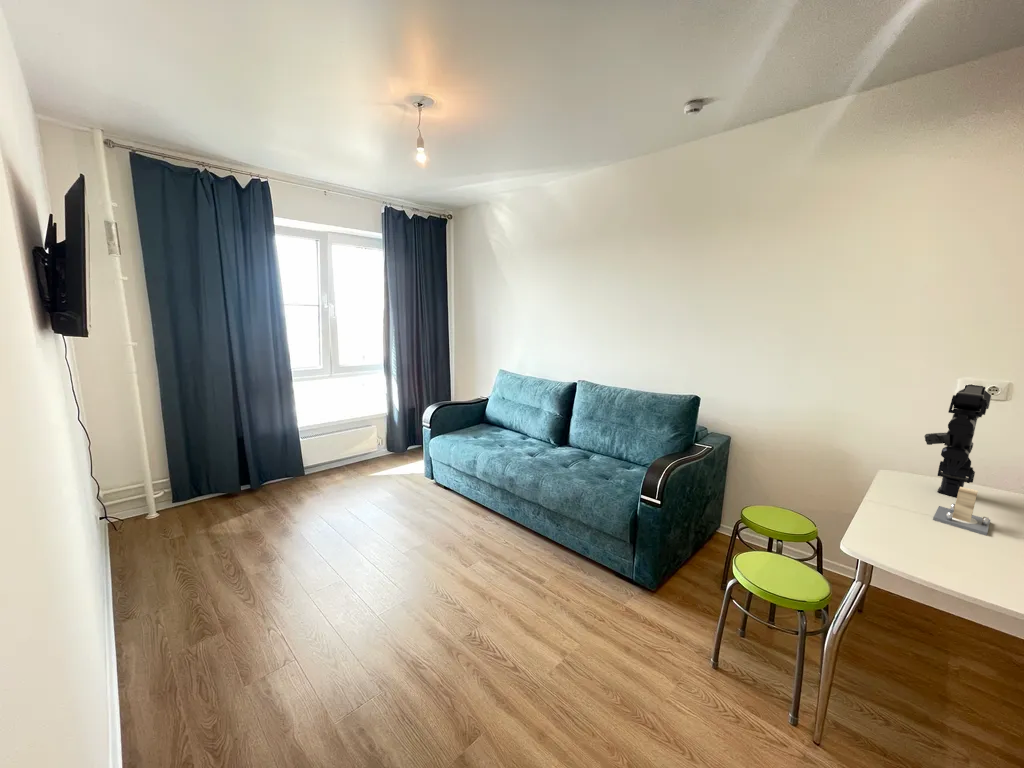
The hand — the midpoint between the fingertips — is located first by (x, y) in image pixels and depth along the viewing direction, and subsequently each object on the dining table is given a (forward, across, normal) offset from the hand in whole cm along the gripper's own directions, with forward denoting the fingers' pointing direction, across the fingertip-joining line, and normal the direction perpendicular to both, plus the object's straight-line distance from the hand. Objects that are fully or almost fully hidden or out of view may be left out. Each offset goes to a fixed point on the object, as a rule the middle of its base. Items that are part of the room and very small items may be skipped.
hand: (952, 471), depth 144 cm
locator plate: (+13, +11, +5) cm, 18 cm away
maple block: (+12, +11, +5) cm, 17 cm away
